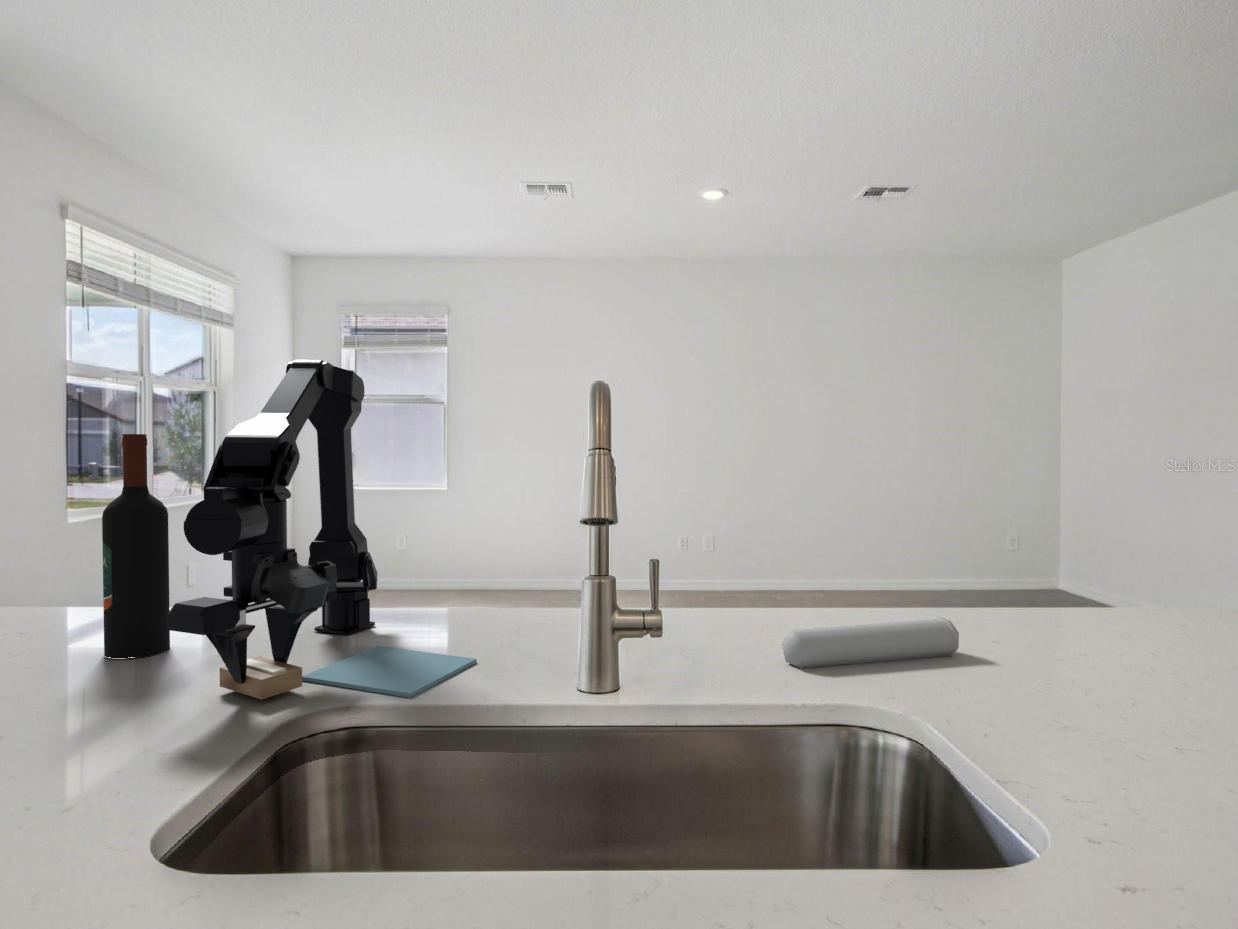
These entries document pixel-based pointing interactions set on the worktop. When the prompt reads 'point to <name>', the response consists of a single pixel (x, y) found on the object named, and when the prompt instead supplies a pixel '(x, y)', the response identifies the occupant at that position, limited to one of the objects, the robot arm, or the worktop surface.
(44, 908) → the worktop surface
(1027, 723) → the worktop surface
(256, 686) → the brown cardboard box
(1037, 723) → the worktop surface
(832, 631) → the tube
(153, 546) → the wine bottle
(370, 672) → the mat
